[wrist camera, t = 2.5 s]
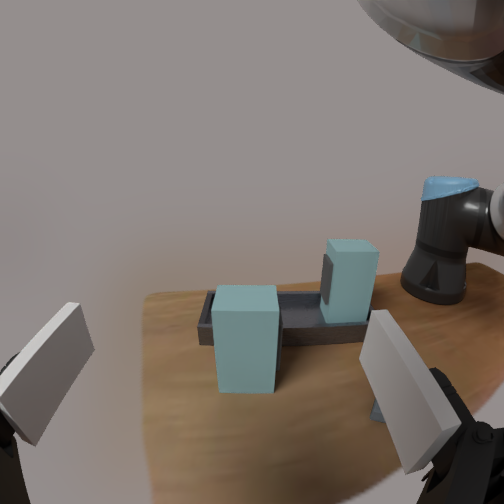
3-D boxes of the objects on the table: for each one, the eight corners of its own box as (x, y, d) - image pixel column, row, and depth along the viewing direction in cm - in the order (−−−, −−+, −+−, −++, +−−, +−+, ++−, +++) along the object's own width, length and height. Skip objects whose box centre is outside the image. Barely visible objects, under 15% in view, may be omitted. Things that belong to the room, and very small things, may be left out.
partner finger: (355, 305, 43) (366, 239, 39) (365, 322, 38) (379, 251, 34) (316, 307, 43) (323, 239, 39) (323, 325, 38) (332, 251, 35)
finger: (275, 363, 33) (280, 285, 29) (278, 393, 29) (284, 311, 25) (223, 363, 33) (217, 285, 30) (219, 392, 29) (211, 310, 25)
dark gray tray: (358, 305, 46) (360, 289, 45) (378, 340, 36) (383, 323, 35) (209, 307, 46) (208, 290, 45) (199, 344, 37) (197, 327, 36)
